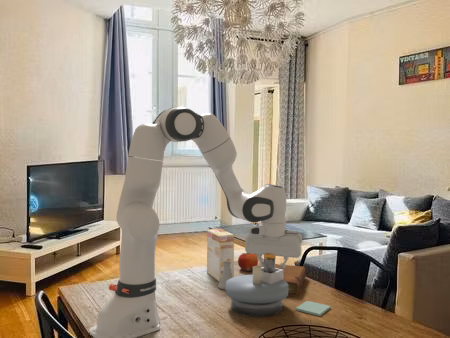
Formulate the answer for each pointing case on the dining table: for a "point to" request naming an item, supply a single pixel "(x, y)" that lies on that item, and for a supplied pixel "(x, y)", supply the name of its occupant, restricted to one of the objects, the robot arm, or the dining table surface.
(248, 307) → the base
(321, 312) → the mat
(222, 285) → the flask
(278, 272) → the dial
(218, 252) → the coffeecake box
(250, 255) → the tomato
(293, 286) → the diary
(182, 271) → the dining table surface
